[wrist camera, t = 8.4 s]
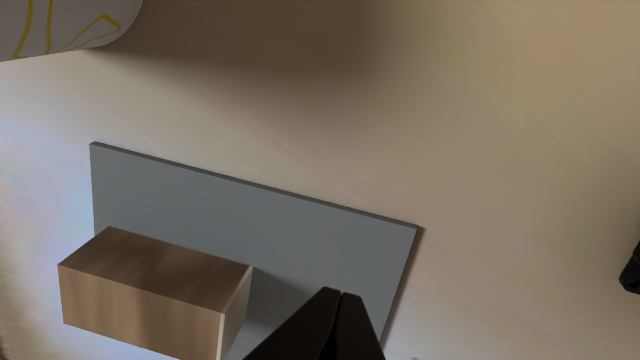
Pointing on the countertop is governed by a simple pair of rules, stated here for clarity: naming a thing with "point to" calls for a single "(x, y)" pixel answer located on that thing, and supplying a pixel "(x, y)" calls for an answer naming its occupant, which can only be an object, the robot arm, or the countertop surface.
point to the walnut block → (155, 295)
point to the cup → (61, 25)
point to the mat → (254, 235)
